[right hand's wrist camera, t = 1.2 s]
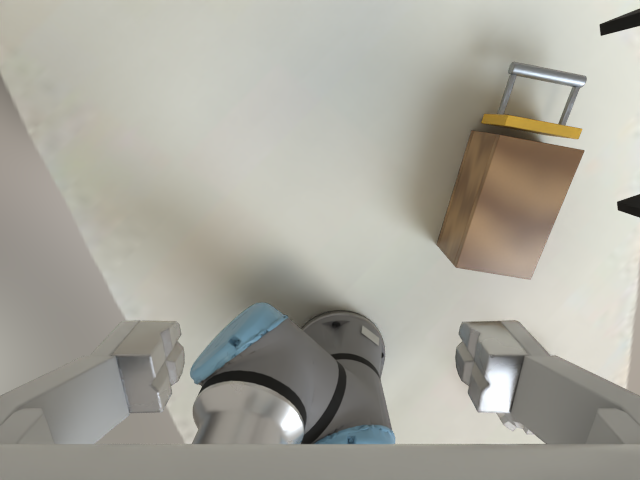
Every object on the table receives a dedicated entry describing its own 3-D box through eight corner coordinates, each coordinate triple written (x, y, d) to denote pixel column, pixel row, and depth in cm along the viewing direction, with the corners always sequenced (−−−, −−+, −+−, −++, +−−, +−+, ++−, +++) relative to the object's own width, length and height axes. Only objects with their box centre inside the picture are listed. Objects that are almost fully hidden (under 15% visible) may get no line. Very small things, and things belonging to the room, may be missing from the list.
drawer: (499, 64, 46) (526, 58, 40) (567, 78, 46) (605, 73, 40) (448, 226, 53) (465, 241, 47) (508, 236, 54) (532, 252, 48)
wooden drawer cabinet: (471, 130, 49) (500, 134, 42) (543, 143, 50) (584, 150, 42) (436, 244, 55) (455, 267, 47) (501, 255, 56) (530, 279, 48)
